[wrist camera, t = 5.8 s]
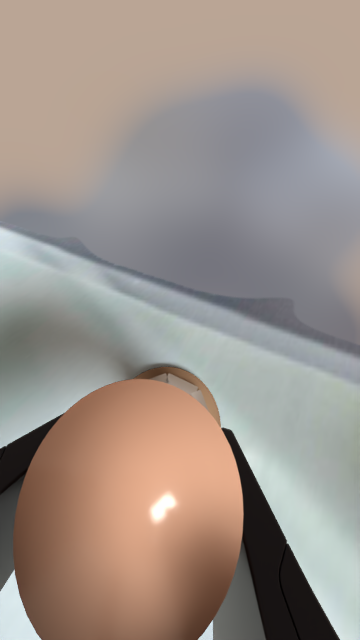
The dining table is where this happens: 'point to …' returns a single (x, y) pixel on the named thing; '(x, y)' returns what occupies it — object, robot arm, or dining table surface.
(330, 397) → the dining table surface
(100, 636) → the peach rounded knob
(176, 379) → the flange seat
